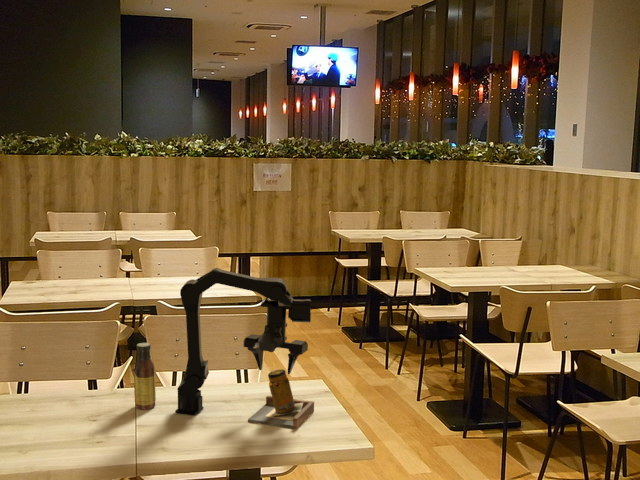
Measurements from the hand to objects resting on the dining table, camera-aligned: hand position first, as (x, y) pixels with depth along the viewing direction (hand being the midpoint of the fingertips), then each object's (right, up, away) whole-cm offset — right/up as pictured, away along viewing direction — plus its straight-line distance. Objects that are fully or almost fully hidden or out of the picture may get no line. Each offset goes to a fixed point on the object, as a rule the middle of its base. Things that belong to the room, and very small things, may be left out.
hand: (274, 372), depth 238 cm
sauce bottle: (-40, -12, +4) cm, 42 cm away
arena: (+1, -13, -2) cm, 13 cm away
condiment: (+4, -11, -2) cm, 12 cm away
